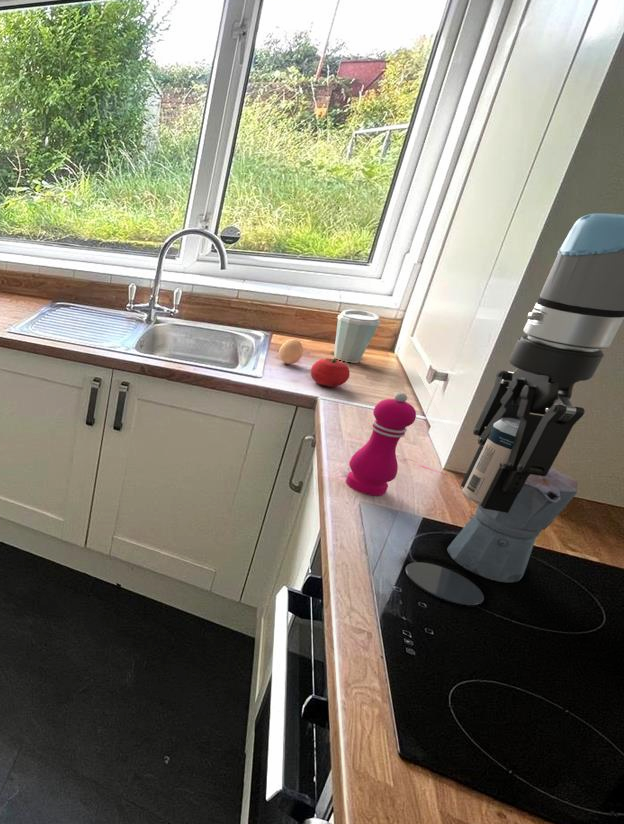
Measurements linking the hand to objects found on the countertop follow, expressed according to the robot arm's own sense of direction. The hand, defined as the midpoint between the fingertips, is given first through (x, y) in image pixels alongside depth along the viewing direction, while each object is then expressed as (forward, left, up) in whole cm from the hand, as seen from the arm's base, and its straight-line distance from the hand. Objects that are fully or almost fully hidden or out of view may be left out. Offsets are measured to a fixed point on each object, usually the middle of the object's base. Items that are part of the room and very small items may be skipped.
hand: (483, 498), depth 82 cm
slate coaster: (0, 0, -15) cm, 15 cm away
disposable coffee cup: (+68, -94, -16) cm, 117 cm away
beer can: (0, 0, -1) cm, 1 cm away
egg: (+72, -72, -16) cm, 103 cm away
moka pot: (0, -12, -16) cm, 20 cm away
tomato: (+57, -66, -16) cm, 89 cm away
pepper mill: (+21, -19, -16) cm, 32 cm away
